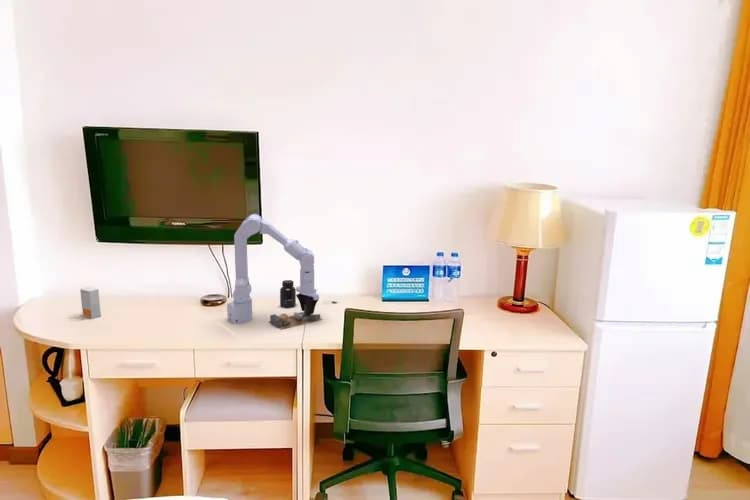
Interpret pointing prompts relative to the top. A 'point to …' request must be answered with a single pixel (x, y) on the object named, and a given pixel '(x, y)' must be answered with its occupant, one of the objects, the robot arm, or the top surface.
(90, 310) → the skincare box
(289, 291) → the supplement bottle
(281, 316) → the tan wooden ball
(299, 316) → the ram
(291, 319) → the bench
